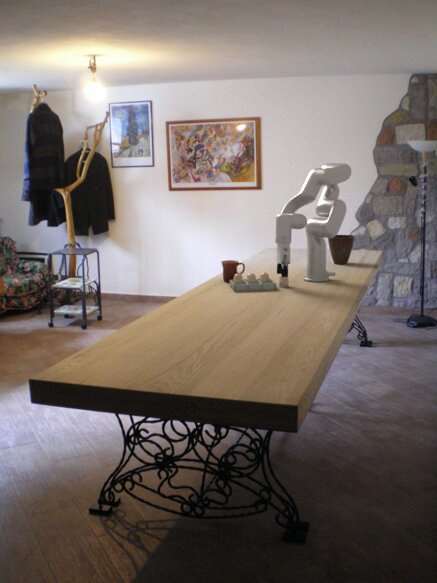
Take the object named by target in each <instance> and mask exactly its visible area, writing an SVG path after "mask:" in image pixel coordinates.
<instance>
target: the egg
mask: <svg viewBox="0 0 437 583" xmlns="http://www.w3.org/2000/svg"><path fill="white" fill-rule="evenodd" d="M278 281H279V284H278V285H279V286H278V287H279V288H282V289H283V288H289V276H288V277H281V275H279V278H278Z"/></svg>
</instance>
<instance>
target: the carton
mask: <svg viewBox="0 0 437 583" xmlns="http://www.w3.org/2000/svg"><path fill="white" fill-rule="evenodd" d="M229 287H230V288H231V289H232V291H233V292H234V293H236V292H237V293H240V292H241V291H242V292H257V291H258V292H259V291H260V292H261V290H263V291H276V290H277V283H276V282H275V281H274V280H273V279H272V278H271V277H270V276H269V274H268V273H267V272H262V273H260V275H259V278H257V277H256V274H255V273H254V272H250V273H248V274H247V275H246V278H243V275H242V274H235V275H234V280H230V282H229Z"/></svg>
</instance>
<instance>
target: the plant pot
mask: <svg viewBox="0 0 437 583" xmlns="http://www.w3.org/2000/svg"><path fill="white" fill-rule="evenodd" d="M354 239H355V236H354V235H353V234H352V235H351V234H337V235H336V236H335V237H333V238H327V242H328V247H329V250H330V255H331V258H332V261H333V264H334V265H347V264H348V262H349V260H350V256H351V254H352V250H353V245H354V242H355V241H354Z"/></svg>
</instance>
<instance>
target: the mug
mask: <svg viewBox="0 0 437 583" xmlns="http://www.w3.org/2000/svg"><path fill="white" fill-rule="evenodd" d="M221 265H222V266H221V267H222V280H223V282H225V283H230V280H234V275H235V274H241V275H242V274H244V272H245V268H246V264H245V263H244V262H239V260H235V259H234V260H231V259H230V260H229V259H228V260H221ZM240 265H242V266H243V267H242V271H241V272H238V266H240Z"/></svg>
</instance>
